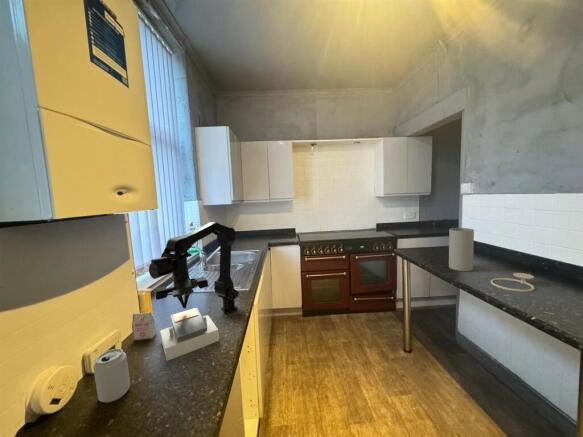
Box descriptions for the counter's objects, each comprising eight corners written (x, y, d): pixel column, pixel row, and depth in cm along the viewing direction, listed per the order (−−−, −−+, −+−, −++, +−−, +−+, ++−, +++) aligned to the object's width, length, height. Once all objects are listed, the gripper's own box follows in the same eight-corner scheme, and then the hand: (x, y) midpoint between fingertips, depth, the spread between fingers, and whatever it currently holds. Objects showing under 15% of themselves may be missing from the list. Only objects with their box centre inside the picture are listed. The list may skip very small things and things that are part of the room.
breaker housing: (161, 341, 94) (159, 322, 93) (208, 325, 104) (207, 307, 103) (166, 361, 83) (163, 339, 82) (219, 340, 93) (217, 321, 92)
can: (93, 398, 69) (87, 358, 67) (123, 380, 75) (117, 343, 74) (105, 409, 65) (99, 367, 64) (135, 389, 71) (130, 351, 70)
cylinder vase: (465, 265, 160) (466, 227, 158) (477, 271, 148) (478, 230, 145) (444, 265, 162) (445, 228, 159) (455, 272, 149) (456, 231, 146)
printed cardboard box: (138, 334, 100) (135, 311, 99) (156, 333, 100) (153, 310, 99) (133, 340, 96) (130, 316, 95) (151, 338, 96) (148, 314, 95)
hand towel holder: (482, 274, 132) (511, 269, 137) (482, 282, 133) (510, 277, 138) (518, 285, 116) (549, 279, 121) (517, 294, 116) (548, 288, 121)
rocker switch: (170, 319, 96) (169, 315, 95) (197, 310, 101) (197, 306, 101) (176, 342, 84) (176, 337, 84) (207, 331, 90) (207, 326, 90)
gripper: (154, 282, 83) (160, 325, 85) (210, 269, 93) (214, 308, 95) (152, 273, 92) (157, 313, 94) (202, 263, 103) (206, 298, 104)
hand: (184, 308), depth 97 cm, fingers closed
